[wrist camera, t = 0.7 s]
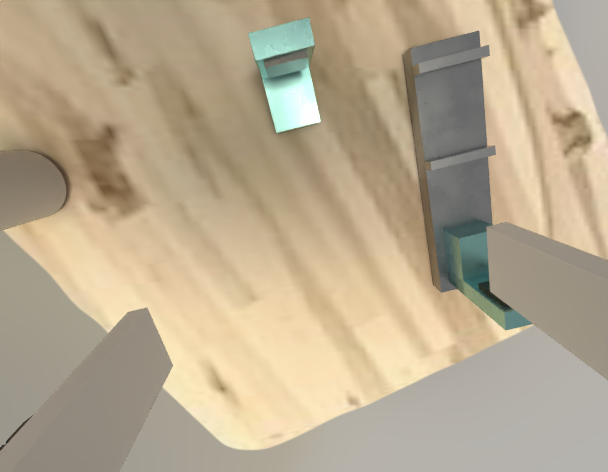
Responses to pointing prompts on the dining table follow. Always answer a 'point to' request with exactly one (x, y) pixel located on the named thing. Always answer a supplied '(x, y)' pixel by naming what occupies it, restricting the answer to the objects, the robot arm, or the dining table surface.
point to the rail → (455, 167)
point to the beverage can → (28, 188)
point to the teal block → (287, 73)
